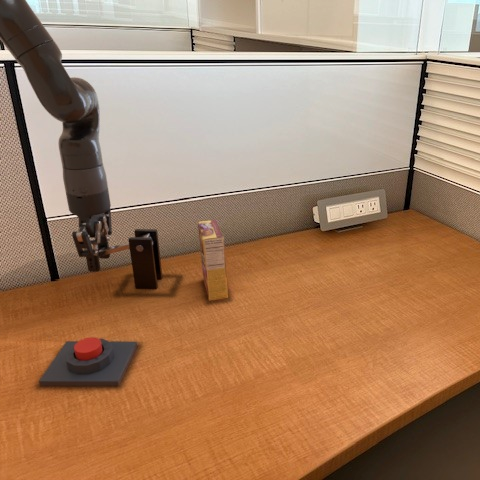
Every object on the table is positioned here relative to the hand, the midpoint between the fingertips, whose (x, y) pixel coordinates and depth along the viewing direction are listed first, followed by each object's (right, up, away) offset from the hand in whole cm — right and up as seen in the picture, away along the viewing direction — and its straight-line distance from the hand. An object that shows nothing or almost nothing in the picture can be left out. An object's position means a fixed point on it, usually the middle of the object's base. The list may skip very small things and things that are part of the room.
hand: (99, 263), depth 100 cm
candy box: (+24, -7, +2) cm, 25 cm away
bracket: (+9, -5, +3) cm, 11 cm away
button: (+8, -14, -22) cm, 27 cm away
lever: (+6, +2, -1) cm, 6 cm away
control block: (+8, -16, -20) cm, 27 cm away
